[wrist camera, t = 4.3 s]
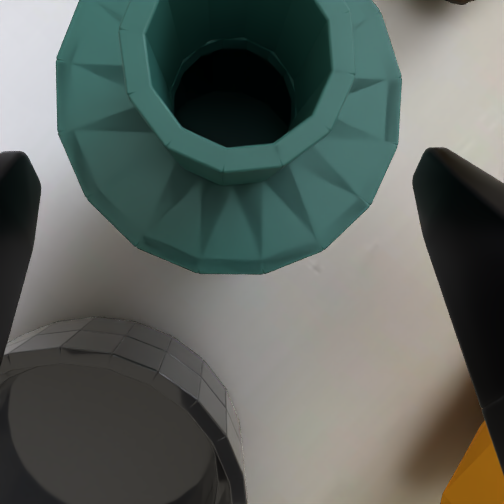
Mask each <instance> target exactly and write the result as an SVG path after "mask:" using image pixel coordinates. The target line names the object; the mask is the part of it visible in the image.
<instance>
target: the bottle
mask: <svg viewBox="0 0 504 504" xmlns="http://www.w3.org/2000/svg"><path fill="white" fill-rule="evenodd" d="M401 86H402V78H401V73H400V70H399V67H398V64H397V60H396V57H395V54H394V51H393V48H392V45H391V42H390V39H389V36H388V32H387V29H386V26H385V23H384V20H383V17H382V14H381V12H380V10H379V9H378V7H377V6H376V5H375V4H374V2H373V1H372V0H79V2H78V5H77V7H76V10H75V12H74V15H73V17H72V20H71V22H70V25H69V27H68V30H67V32H66V35H65V38H64V40H63V43H62V45H61V48H60V50H59V53H58V55H57V60H56V90H57V130H58V132H59V133H58V135H59V137H60V140H61V142H62V144H63V147H64V149H65V151H66V153H67V156H68V158H69V160H70V163H71V165H72V167H73V170H74V172H75V174H76V176H77V179H78V181H79V183H80V186H81V188H82V190H83V193H84V195H85V197H86V198H87V200H88V201H89V202H90V203H91V204H92V205H93V206H94V207H95V208H96V209H97V210H98V211H99V212H100V213H101V214H102V215H103V216H104V217H105V218H106V219H107V220H108V221H109V222H110V223H111V224H112V225H113V226H114V227H115V228H116V229H117V230H118V231H119V232H120V233H121V234H122V235H123V236H125V237H126V238H127V239H128V240H129V241H130V242H131V243H132V244H133V245H134V246H135V247H136V246H137V248H138V249H140V250H143V251H145V252H147V253H150V254H152V255H154V256H157V257H159V258H162V259H164V260H166V261H169V262H171V263H173V264H176V265H178V266H181V267H183V268H185V269H188V270H190V271H192V272H195V273H199V274H259V275H261V274H263V273H264V274H266V273H269V272H271V271H274V270H276V269H279V268H281V267H284V266H286V265H289V264H291V263H294V262H296V261H299V260H302V259H304V258H307V257H309V256H312V255H314V254H317V253H319V252H322V251H323V250H325V249H326V248H327V247H328V246H329V245H330V244H331V243H332V242H333V241H334V240H335V239H336V238H337V237H338V236H340V235H341V234H342V233H343V232H344V231H345V230H346V229H347V228H348V227H349V226H350V225H351V224H352V223H353V222H354V221H355V220H356V219H357V218H358V217H359V216H360V215H361V214H363V213H364V212H365V211H366V210H367V209H368V208H369V206H370V205H371V204H372V202H373V199H374V197H375V195H376V193H377V191H378V188H379V186H380V184H381V182H382V180H383V177H384V175H385V173H386V171H387V169H388V167H389V164H390V162H391V160H392V158H393V156H394V153H395V151H396V149H397V145H398V138H399V120H400V103H401Z"/></svg>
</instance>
